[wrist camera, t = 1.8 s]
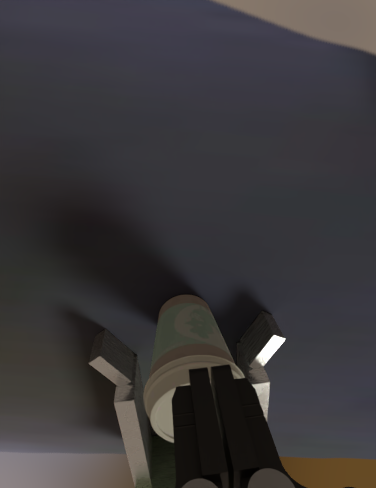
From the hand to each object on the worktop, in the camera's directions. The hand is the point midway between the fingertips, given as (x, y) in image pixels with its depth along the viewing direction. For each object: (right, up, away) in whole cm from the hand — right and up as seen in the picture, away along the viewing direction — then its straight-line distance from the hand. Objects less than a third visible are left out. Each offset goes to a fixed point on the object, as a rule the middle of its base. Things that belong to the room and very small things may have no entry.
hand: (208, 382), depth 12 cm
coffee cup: (-1, -3, +22) cm, 23 cm away
